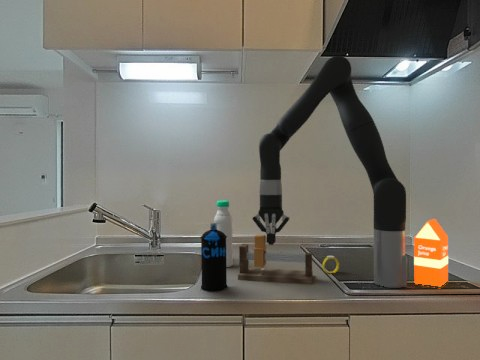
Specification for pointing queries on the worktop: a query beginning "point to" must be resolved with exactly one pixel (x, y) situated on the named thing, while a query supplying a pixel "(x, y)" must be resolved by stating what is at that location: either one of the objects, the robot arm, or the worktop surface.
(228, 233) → the water bottle
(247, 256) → the grey square bar
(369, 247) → the worktop surface
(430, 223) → the orange juice
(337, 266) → the watch
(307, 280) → the rig
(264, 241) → the collar
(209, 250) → the aerosol can
